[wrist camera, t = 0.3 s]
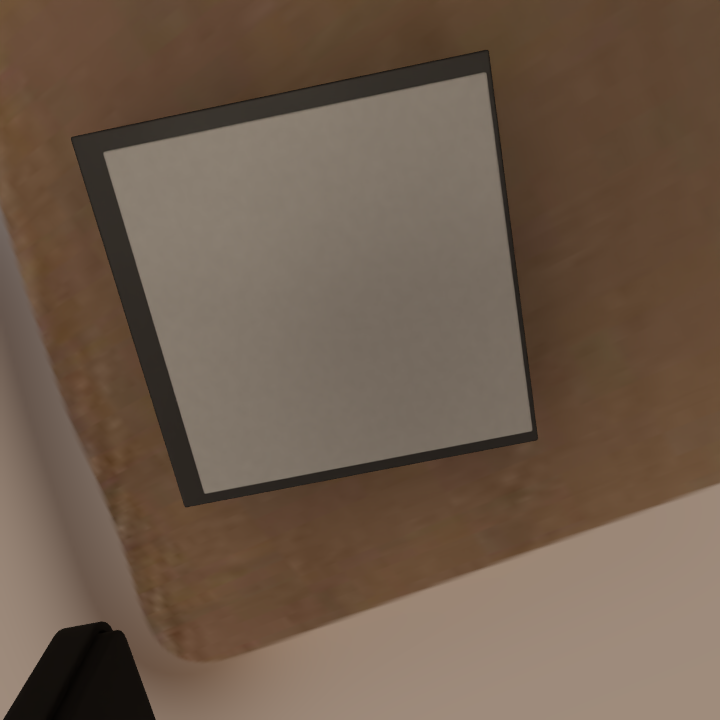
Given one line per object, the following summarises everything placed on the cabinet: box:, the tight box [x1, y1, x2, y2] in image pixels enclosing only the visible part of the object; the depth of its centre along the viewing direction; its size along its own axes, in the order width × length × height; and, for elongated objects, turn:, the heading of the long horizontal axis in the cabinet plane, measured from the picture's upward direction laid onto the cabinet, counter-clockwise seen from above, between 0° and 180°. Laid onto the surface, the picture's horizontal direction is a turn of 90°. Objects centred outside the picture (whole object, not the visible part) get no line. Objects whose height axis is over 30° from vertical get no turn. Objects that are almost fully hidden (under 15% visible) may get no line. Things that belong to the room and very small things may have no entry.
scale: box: [71, 50, 538, 507], centre depth 24 cm, size 14×14×3 cm
